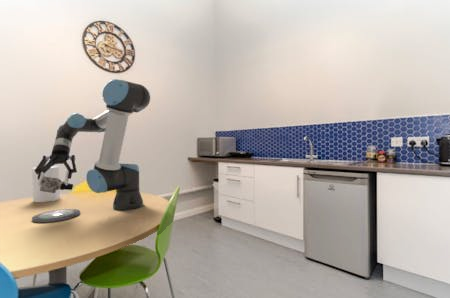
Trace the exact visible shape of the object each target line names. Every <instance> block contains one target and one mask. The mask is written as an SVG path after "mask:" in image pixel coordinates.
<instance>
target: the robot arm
mask: <svg viewBox="0 0 450 298" xmlns="http://www.w3.org/2000/svg"><path fill="white" fill-rule="evenodd" d="M101 94H102V100H103V102H104V103H105V104H106V105H105V108H106V109H107V110H105V111H104V112H103V113H101V114H98V116H96V117H94V118H89V117H85V116H84V115H82V114H80V113H78V112H74V113H72V114H71V115H70V116H69V117H67V120H66V121H65V122H64V123H63V124H61V125H60V126H59V127H58V129H57V131H56V136H55V139H54V144H53V145H52V150H51V153H50V155H49V156H47V155H43V156H42V159H41V160H40V162H39V163H38V165H37V166H36V167H37V168H36V169H35V172H36V174H38V177H37V178H38V180H39V182H38V184H39V186H40V187H42V179H43V177H44V176H45V175H44V173H45V172H46V171H47V170H49V169H50V168H51V167H52V166H56V165H58V164H59V165H64V166H65V168H66V172H65V173H66V174H65V177H64V182H65V185H68V183H69V179H70V180H71V179H72V176H73V174H74V173H77V172H78V171H77V167H76V166H77V165H76V162H75V161H76V156H75V154H71V155H70V152H71V147H72V142H73V139H74V138H75V137H76V136H77V134H79V133H98V134H99V133H103V134H104V135H103V139H102V143H101V144H102V145H101V148H100V153H99V158H98V160H97V161H96V162H94V167H93V168H91V169H89V170H88V171H87V173H86V177H85V178H86V183H87V185H88V188H89V189H90V190H91V192H93V193H96V194H103V193H106V192H112V191H115V196H114V198H113V203H112V209H114V210H116V211H128V210H134V209H140V208H141V207H143V206H144V199H143V197H142V195H141V194H142V193H141V192H140V191H141V190H140V169H139V165H138V164H135V163H120V162H119V161H120V157H121V153H122V148H123V143H124V138H125V135H126V134H125V133H126V130H127V129H126V128H127V125H128V120H129V116H130V115H132V114H134V113H139V112H141V111H143V110H145V109H146V108H147V107H148V105H149V104H150V102H151V93H150V91H149V90H148V89H147V87H146V86H144V85H142V84H139V83H135V82H131V81H127V80H123V79H117V78H115V79H111V80H109V81H108V82H106V84H104V86H103V89H102V93H101ZM69 160H70V161H71V165H72V168H71V166H70V165H69V163H68V162H67V161H69Z"/></svg>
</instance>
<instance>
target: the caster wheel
mask: <svg viewBox="0 0 450 298" xmlns="http://www.w3.org/2000/svg"><path fill="white" fill-rule="evenodd" d="M73 187H74V184H73V183H69V182H68V185H65V181H62V180H61V179H60V178H59V179H58V178H51V177H45V176H44V177H43V179H42V187H40V191H44V192H50V193H55V192H56V190H59V189H60V191H65V190H66V191H67V190H68V191H69V190H70V191H72V190H73Z"/></svg>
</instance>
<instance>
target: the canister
mask: <svg viewBox="0 0 450 298" xmlns="http://www.w3.org/2000/svg"><path fill="white" fill-rule="evenodd" d="M36 168H37V166H35V167H32V169H31V175H32V193H33V194H32V195H33V197H32V199H33V202H34V203H45V202H52V201H57V200H60V199H61V189H59V190H56V192H55V193H50V192H44V191H40V186H39V184H38V182H39V180H38V178H37V177H38V174H36V172H35V169H36ZM44 175H45V177H51V178H58V179H60V166H59V165H58V166H57V165H54V166H52V167H51V168H50V169H49V170H47V171H46V172H45V173H44Z"/></svg>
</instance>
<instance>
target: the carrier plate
mask: <svg viewBox="0 0 450 298" xmlns="http://www.w3.org/2000/svg"><path fill="white" fill-rule="evenodd" d="M80 215H81V210H80V209H76V208H64V209H63V208H62V209H55V210H54V209H53V210H49V211H45V212H41V213H38V214H36V215H34V216H32V217H31V221H32V223H37V224H38V223H39V224H46V223H47V224H49V223H50V224H51V223H56V222H57V223H58V222H63V221H68V220H70V219H73V218H76V217H78V216H80Z"/></svg>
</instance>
